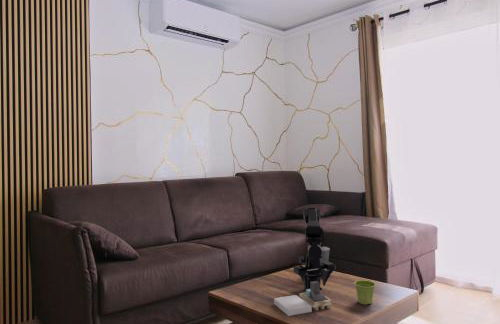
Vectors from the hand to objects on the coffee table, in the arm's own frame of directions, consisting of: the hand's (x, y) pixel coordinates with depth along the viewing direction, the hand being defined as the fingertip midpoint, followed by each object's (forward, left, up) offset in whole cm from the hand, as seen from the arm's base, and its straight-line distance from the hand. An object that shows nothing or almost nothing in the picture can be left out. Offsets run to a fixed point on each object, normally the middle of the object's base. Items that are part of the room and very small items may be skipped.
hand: (314, 287), depth 183 cm
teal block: (0, -3, -5) cm, 6 cm away
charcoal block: (0, +3, -5) cm, 6 cm away
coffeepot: (-23, -34, -8) cm, 42 cm away
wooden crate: (0, 0, -8) cm, 8 cm away
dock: (+12, 0, -8) cm, 14 cm away
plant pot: (-21, +8, -8) cm, 24 cm away
